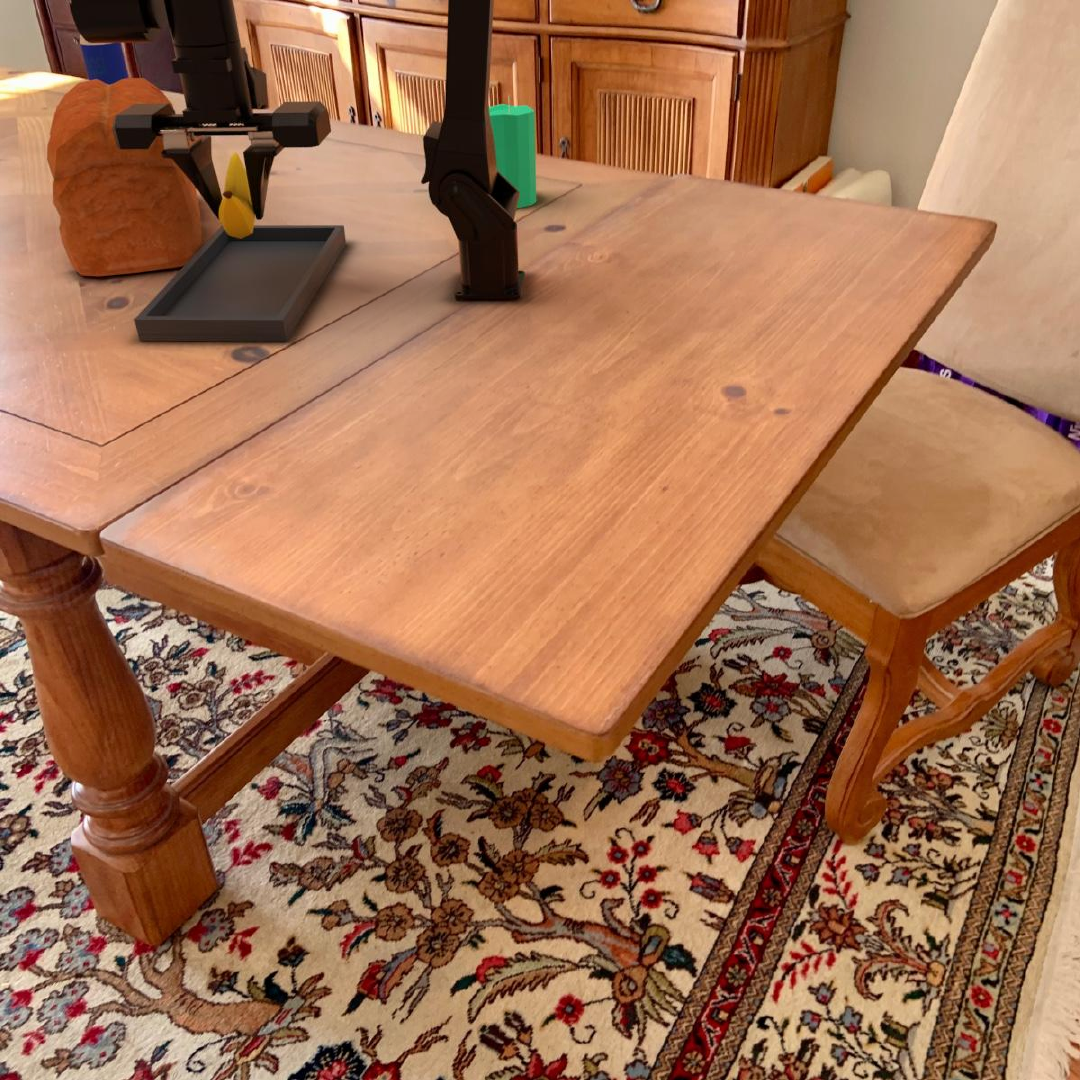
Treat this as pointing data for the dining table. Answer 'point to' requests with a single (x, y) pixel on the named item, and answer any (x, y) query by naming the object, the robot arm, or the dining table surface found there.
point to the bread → (118, 186)
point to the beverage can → (104, 61)
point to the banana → (236, 201)
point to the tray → (244, 286)
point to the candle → (516, 148)
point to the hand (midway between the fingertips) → (241, 218)
